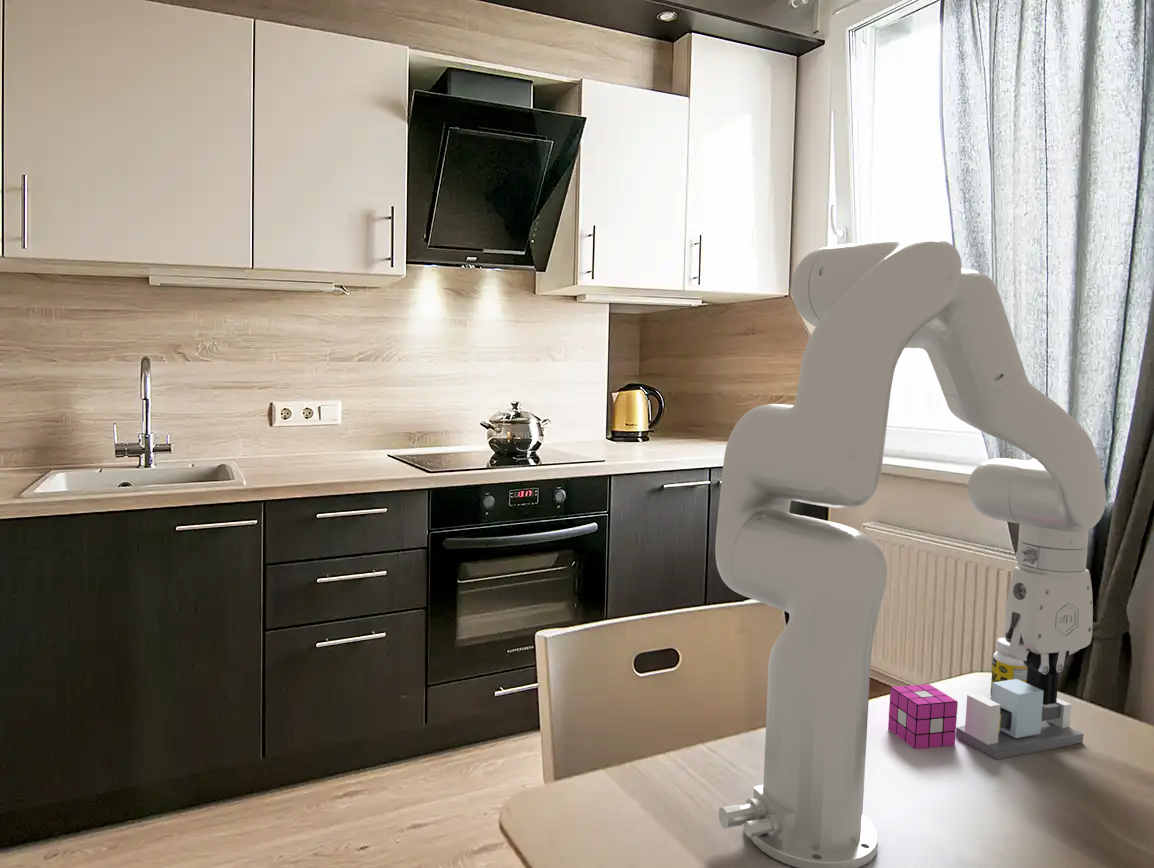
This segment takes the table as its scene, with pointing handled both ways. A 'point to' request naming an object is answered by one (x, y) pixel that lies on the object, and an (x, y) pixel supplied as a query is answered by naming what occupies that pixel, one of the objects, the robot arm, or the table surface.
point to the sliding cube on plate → (989, 719)
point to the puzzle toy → (922, 716)
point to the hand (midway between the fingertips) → (1040, 699)
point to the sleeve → (1020, 706)
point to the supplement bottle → (1006, 665)
